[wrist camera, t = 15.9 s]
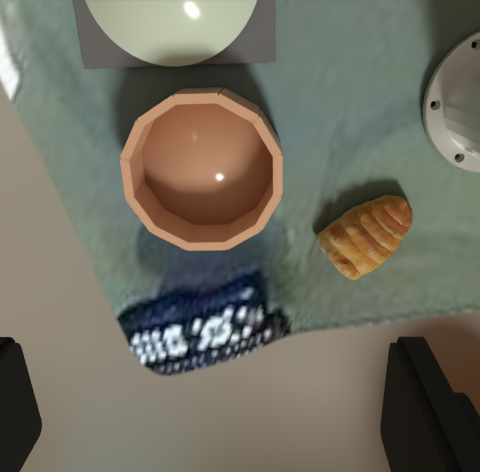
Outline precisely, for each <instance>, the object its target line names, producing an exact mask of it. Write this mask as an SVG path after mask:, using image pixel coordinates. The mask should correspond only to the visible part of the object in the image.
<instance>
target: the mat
mask: <svg viewBox="0 0 480 472" xmlns="http://www.w3.org/2000/svg"><path fill="white" fill-rule="evenodd" d="M73 2H74V8H75V14H76V20H77V27H78V33H79V39H80V45H81V51H82V58H83V64H84V69H94V68H121V67H149V66H163V65H157V64H153V63H150V62H146V61H143V60H141V59H139V58H137V57H135V56H133V55H131V54H130V53H128V52H126V51H125V50H123V49H122V48H121V47H119V46H118V45H117V44H116V43H115V42H113V41H112V40H111V39H110V38H109V36H108V35H107V34H106V33H105V32H104V31H103V30H102V28H101V27H100V26H99V24H98V23H97V22H96V20H95V18H94V17H93V15H92V13H91V12H90V10H89V8H88V6H87V3H86V1H85V0H73ZM258 62H275V0H257V3H256V5H255V8H254V10H253V13H252V15H251V17H250V19H249V21H248V22H247V24H246V26H245V27H244V29H243V30H242V31H241V33H240V34H239V35H238V37H237V38H236V39H235V40H234V41H233V42H232V43H231V44H230V45H229V46H227V47H226V48H225V49H224V50H222V51H221V52H220V53H218V54H216V55H214V56H213V57H211V58H209V59H206V60H204V61H202V62H199V63H195V64H191V65H203V64H230V63H258Z"/></svg>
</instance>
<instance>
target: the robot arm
mask: <svg viewBox="0 0 480 472" xmlns="http://www.w3.org/2000/svg"><path fill="white" fill-rule="evenodd" d="M472 42H475V46H474V47H473V48H472V47H471V45H472ZM432 101H434V102H435V104H434V106H432V107H431V106H430V104H431V102H432ZM423 123H424V128H425V132H426V135H427V137H428V139H429V141H430V143H431V145H432V146H433V148H434V149H435V150H436V151H437V153H438V154H439V155H440V156H442V157H443V158H444V159H445V160H447V161H448V162H449V163H451V164H452V165H454V166H456V167H459V168H461V169H464V170H466V171H471V172H477V173H480V31H478V32H476V33H474V34H472V35H470V36H469V37H467V38H466V39H464V40H463V41H461V42H460V43H458V44H457V45H456V46H455V47H454V48H453V49H452V50H451V51H450V52H449V53H447V55H446V56H445V57H444V58H443V60H442V61H441V62H440V63H439V65H438V66H437V68H436V69H435V71H434V73H433V75H432V77H431V78H430V80H429V83H428V86H427V89H426V92H425V96H424V102H423ZM457 154H458V157H457V158H455V155H457ZM41 429H42V421H41V417H40V414H39V410H38V406H37V403H36V399H35V395H34V391H33V388H32V384H31V381H30V377H29V373H28V370H27V366H26V362H25V359H24V355H23V351H22V348H21V345H20V344H19V343H15V340H13V338H11V337H0V472H19V471H20V470H21V468H22V466H23V465H24V463H25V461H26V459H27V457H28V456H29V454H30V452H31V450H32V449H33V447H34V445H35V443H36V442H37V440H38V438H39V436H40V433H41ZM381 438H382V442H383V445H384V449H385V452H386V456H387V459H388V463H389V466H390V469H391V472H480V416H479V415H478V413H477V411H476V410H475V408H474V406H473V404H472V402H471V401H470V399H469V398H468V396H467V395H466V394H464V393H454V392H453V390H452V388H451V387H450V385H449V383H448V381H447V379H446V377H445V375H444V373H443V371H442V370H441V368H440V366H439V364H438V362H437V360H436V358H435V356H434V355H433V353H432V351H431V349H430V347H429V345H428V343H427V342H426V340H425V339H424V337H399V338H398V340H397V343H391V344H390V347H389V355H388V364H387V372H386V381H385V390H384V399H383V408H382V417H381Z"/></svg>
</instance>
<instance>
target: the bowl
mask: <svg viewBox="0 0 480 472" xmlns="http://www.w3.org/2000/svg"><path fill="white" fill-rule="evenodd" d="M120 158H121V159H120V164H121V171H122V178H123V185H124V192H125V199H127V200H126V201H127V202H128V203H129V205H130V206H131V207H132V209H133V210H134V211H135V213H136V214H137V215H138V217H139V218H140V219H141V221H142V222H143V223H144V225H145V226H146V227H147V229H148V230H149V231H150V232H151V231H152V232H151V233H152V234H154V235H156V236H158V237H160V238H162V239H164V240H166V241H169V242H171V243H173V244H175V245H177V246H179V247H181V248H183V249H185V250H187V248H188V251H192V250H226V249H230V248H232V247H234V246H235V245H237V244H239V243H241V242H243V241H244V240H246V239H248V238H250V237H252V236H253V235H255V234H257V233H259V232H261V230H263V228H264V226H265V225H266V223H267V221H268V220H269V218H270V216H271V215H272V213H273V211H274V210H275V208H276V206H277V205H278V203H279V201H280V200H281V198H282V149H281V143H280V140H279V138H278V137H277V135H276V133H275V132H274V130H273V128H272V127H271V125H270V123H269V121H268V120H267V118H266V116H265V115H264V113H263V111H262V110H261V108H259V106H257V105H255V104H254V103H252V102H250V101H248V100H246V99H245V98H243V97H241V96H239V95H237V94H236V93H234V92H232V91H230V90H228V89H227V88H225V87H224V89H223V87H208V88H183V89H181V90H179V91H178V92H176V93H175V94H173V95H171V96H170V97H168V98H167V99H166V100H164V101H163V102H161V103H160V104H158V105H157V106H155V107H154V108H152V109H151V110H149V111H148V112H146V113H145V114H143V115H142V116H140V117H139V118H137V120H136V121H135V124H134V126H133V128H132V131H131V133H130V135H129V138H128V140H127V142H126V145H125V147H124V149H123V152H122V154H121V156H120Z"/></svg>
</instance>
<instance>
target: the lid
mask: <svg viewBox="0 0 480 472" xmlns="http://www.w3.org/2000/svg"><path fill="white" fill-rule="evenodd" d="M85 1H86V3H87V6H88V8H89V10H90V12H91V13H92V15H93V17H94V18H95V20H96V22H97V23H98V24H99V26H100V27H101V28H102V30H103V31H104V32H105V33H106V34H107V35H108V36H109V38H110V39H111V40H112V41H113V42H115V43H116V44H117V45H118V46H119V47H121V48H122V49H123V50H125V51H126V52H128V53H130V54H131V55H133V56H135V57H137V58H139V59H141V60H143V61H146V62H150V63H153V64H157V65H163V66H185V65H191V64H195V63H199V62H202V61H204V60H206V59H209V58H211V57H213V56H214V55H216V54H218V53H220V52H221V51H222V50H224V49H225V48H226V47H227V46H229V45H230V44H231V43H232V42H233V41H234V40H235V39H236V38H237V37H238V35H239V34H240V33H241V31H242V30H243V29H244V27H245V26H246V24H247V22H248V21H249V19H250V17H251V15H252V13H253V10H254V8H255V5H256V3H257V0H85Z"/></svg>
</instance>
